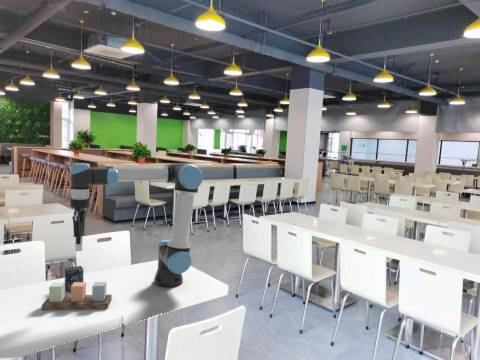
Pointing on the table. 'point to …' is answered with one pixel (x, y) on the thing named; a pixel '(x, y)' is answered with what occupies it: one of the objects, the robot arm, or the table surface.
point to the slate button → (99, 291)
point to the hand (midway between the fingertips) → (78, 250)
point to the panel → (77, 304)
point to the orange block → (78, 291)
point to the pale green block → (57, 292)
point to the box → (73, 276)
